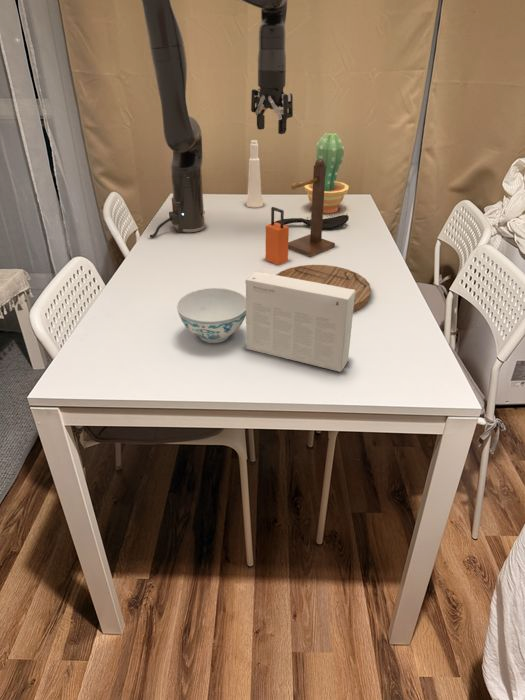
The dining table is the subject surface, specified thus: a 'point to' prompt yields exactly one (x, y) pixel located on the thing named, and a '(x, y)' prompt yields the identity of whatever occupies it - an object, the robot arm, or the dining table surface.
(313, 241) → the hook stand
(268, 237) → the orange handled weight
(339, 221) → the hairbrush
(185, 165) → the robot arm
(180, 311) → the chinaware
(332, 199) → the potted cactus
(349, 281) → the trivet
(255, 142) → the cosmetic bottle
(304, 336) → the skincare box
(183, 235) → the dining table surface
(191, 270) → the dining table surface
